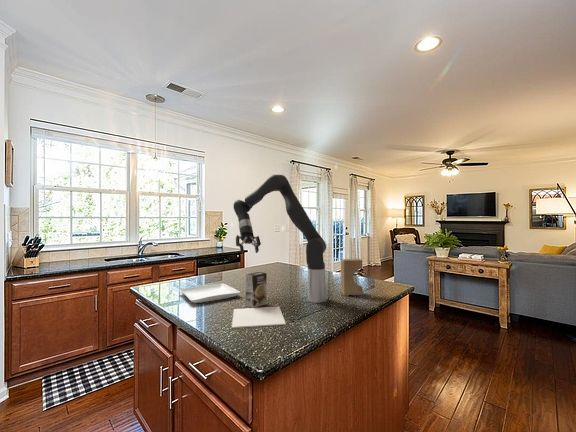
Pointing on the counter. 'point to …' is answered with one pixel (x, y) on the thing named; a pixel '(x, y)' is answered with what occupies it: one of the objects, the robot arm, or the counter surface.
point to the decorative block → (350, 277)
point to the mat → (257, 317)
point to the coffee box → (256, 289)
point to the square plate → (209, 293)
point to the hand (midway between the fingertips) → (250, 252)
